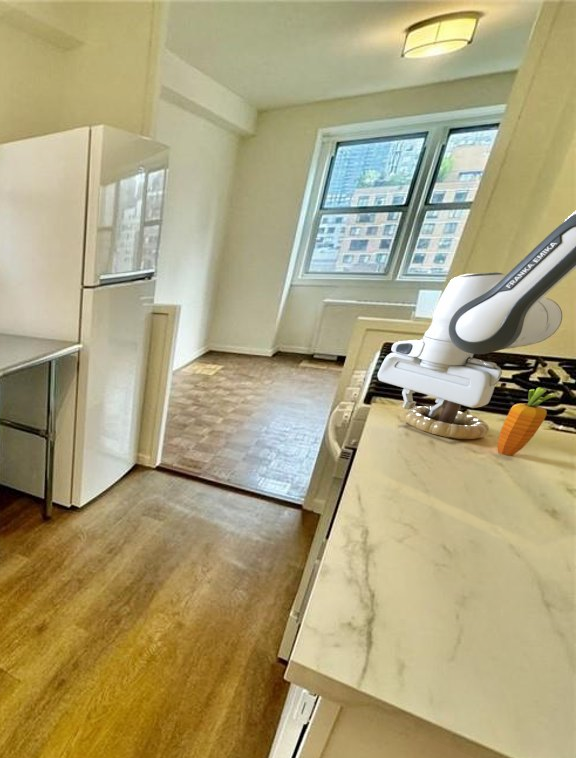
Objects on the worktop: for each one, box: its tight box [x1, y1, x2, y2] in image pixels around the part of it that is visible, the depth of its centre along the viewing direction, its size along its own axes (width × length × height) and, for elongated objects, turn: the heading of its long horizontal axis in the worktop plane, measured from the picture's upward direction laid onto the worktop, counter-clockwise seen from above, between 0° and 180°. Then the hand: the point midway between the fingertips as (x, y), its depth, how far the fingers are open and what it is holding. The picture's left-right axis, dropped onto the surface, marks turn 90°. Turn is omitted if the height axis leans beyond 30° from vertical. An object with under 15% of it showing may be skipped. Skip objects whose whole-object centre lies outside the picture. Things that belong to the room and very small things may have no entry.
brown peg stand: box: [405, 401, 462, 440], centre depth 103 cm, size 9×9×14 cm
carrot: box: [497, 387, 558, 457], centre depth 92 cm, size 5×5×15 cm
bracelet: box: [403, 405, 490, 440], centre depth 105 cm, size 14×14×3 cm
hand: (418, 412), depth 109 cm, fingers open, 3 cm apart
